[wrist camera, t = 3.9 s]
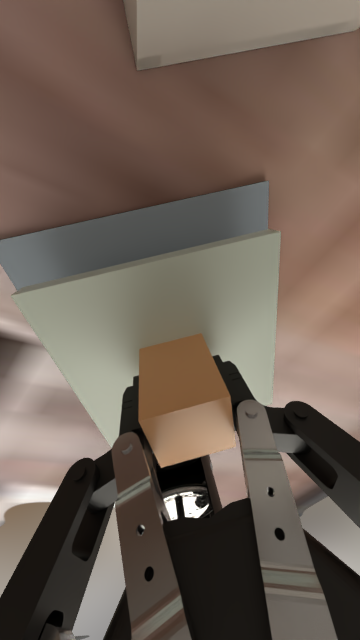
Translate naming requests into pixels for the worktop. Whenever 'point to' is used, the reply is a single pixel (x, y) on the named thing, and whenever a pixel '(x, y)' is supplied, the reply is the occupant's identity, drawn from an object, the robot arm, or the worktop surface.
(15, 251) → the mat
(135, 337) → the lid
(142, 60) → the dish
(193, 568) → the robot arm
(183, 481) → the french press
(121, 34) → the worktop surface
